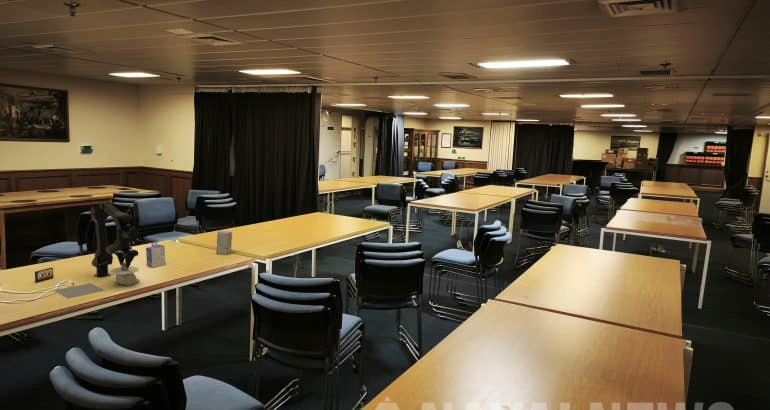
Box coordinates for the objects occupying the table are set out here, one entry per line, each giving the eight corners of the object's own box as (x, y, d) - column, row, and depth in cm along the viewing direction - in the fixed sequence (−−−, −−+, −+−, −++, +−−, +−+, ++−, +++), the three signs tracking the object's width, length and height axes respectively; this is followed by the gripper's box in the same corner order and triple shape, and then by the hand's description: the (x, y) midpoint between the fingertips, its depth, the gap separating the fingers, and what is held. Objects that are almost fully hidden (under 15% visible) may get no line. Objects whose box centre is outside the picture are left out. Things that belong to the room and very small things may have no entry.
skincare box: (215, 254, 322) (215, 231, 320) (221, 251, 329) (221, 230, 327) (227, 255, 321) (227, 232, 319) (232, 253, 328) (232, 231, 326)
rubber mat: (53, 291, 235) (53, 290, 235) (90, 283, 249) (90, 283, 249) (67, 299, 226) (67, 298, 226) (105, 291, 239) (105, 290, 239)
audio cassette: (51, 278, 256) (51, 267, 255) (53, 278, 255) (53, 267, 255) (34, 282, 247) (34, 271, 246) (36, 283, 246) (36, 272, 246)
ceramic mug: (124, 287, 246) (123, 273, 245) (115, 284, 250) (114, 270, 249) (143, 283, 255) (143, 269, 254) (134, 280, 259) (134, 267, 258)
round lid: (106, 270, 248) (106, 263, 248) (131, 266, 259) (131, 259, 258) (118, 275, 241) (118, 268, 240) (143, 271, 251) (143, 263, 251)
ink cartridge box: (159, 263, 294) (159, 240, 292) (165, 264, 292) (165, 241, 290) (145, 266, 285) (145, 243, 283) (152, 268, 283) (151, 244, 281)
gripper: (99, 237, 246) (100, 265, 248) (116, 243, 235) (117, 273, 238) (121, 234, 255) (122, 262, 257) (138, 240, 244) (139, 268, 247)
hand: (124, 266), depth 249 cm, fingers open, 6 cm apart
